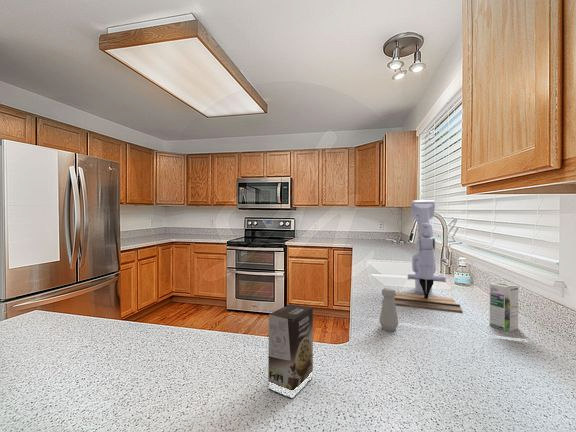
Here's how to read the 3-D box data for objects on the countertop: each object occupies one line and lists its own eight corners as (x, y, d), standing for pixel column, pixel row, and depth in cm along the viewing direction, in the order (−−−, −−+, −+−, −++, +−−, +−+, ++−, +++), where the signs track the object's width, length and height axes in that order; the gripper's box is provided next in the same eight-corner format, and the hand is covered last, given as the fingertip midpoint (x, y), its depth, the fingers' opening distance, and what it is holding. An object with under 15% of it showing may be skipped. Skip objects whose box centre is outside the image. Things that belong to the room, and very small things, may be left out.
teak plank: (388, 295, 132) (388, 291, 132) (453, 301, 122) (453, 298, 122) (386, 301, 123) (386, 297, 123) (456, 308, 113) (456, 305, 113)
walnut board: (383, 301, 123) (383, 296, 123) (459, 309, 112) (459, 304, 112) (382, 305, 117) (382, 300, 117) (462, 314, 106) (462, 309, 106)
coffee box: (293, 400, 57) (293, 319, 57) (267, 390, 61) (267, 313, 61) (314, 378, 65) (314, 307, 65) (289, 370, 69) (289, 302, 69)
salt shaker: (378, 330, 92) (378, 289, 92) (379, 324, 97) (379, 285, 97) (398, 333, 90) (398, 291, 90) (398, 326, 95) (398, 287, 95)
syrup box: (488, 327, 94) (488, 283, 94) (499, 324, 97) (499, 281, 97) (508, 334, 89) (508, 287, 89) (519, 331, 92) (519, 285, 91)
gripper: (407, 265, 122) (407, 298, 122) (446, 268, 116) (446, 302, 116) (407, 263, 128) (407, 293, 128) (444, 265, 122) (444, 297, 122)
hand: (426, 297), depth 122 cm, fingers closed
